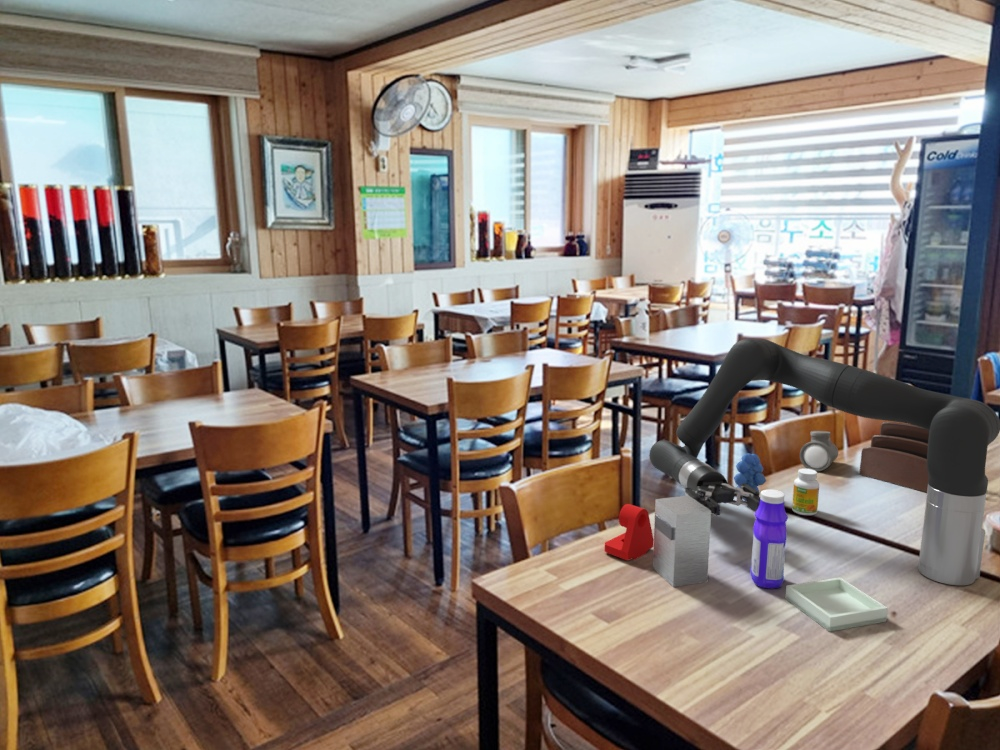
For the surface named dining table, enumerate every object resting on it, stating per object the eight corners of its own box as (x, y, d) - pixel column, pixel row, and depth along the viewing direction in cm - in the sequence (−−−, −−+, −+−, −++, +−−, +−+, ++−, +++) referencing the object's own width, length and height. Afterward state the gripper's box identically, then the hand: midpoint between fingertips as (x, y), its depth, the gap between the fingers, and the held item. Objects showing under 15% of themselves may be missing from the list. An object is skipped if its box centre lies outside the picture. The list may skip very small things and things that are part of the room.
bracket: (628, 540, 155) (629, 495, 153) (653, 549, 150) (654, 503, 148) (602, 553, 149) (603, 507, 147) (627, 563, 144) (629, 515, 142)
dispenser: (687, 562, 144) (691, 495, 141) (709, 581, 137) (713, 510, 134) (651, 568, 142) (653, 499, 139) (671, 587, 134) (674, 515, 132)
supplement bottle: (791, 514, 168) (794, 473, 166) (792, 505, 173) (795, 466, 171) (817, 517, 166) (820, 476, 164) (816, 508, 171) (820, 468, 169)
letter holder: (877, 467, 200) (883, 417, 197) (956, 488, 184) (963, 434, 181) (858, 475, 194) (863, 423, 191) (938, 497, 178) (944, 441, 175)
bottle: (785, 592, 132) (793, 501, 129) (752, 589, 133) (759, 498, 130) (779, 574, 139) (785, 486, 136) (747, 571, 140) (753, 484, 137)
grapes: (752, 511, 169) (756, 461, 167) (725, 504, 174) (728, 455, 172) (775, 498, 178) (779, 450, 175) (749, 491, 182) (752, 444, 180)
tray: (838, 590, 133) (840, 577, 133) (886, 621, 122) (887, 607, 122) (785, 598, 130) (786, 585, 130) (829, 631, 120) (830, 617, 119)
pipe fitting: (829, 473, 193) (830, 435, 193) (798, 469, 198) (799, 432, 198) (843, 467, 202) (845, 430, 202) (813, 464, 207) (814, 427, 207)
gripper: (672, 467, 159) (706, 494, 143) (733, 463, 161) (773, 489, 146) (670, 500, 160) (704, 530, 145) (731, 495, 163) (770, 524, 147)
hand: (738, 509), depth 145 cm, fingers open, 8 cm apart
